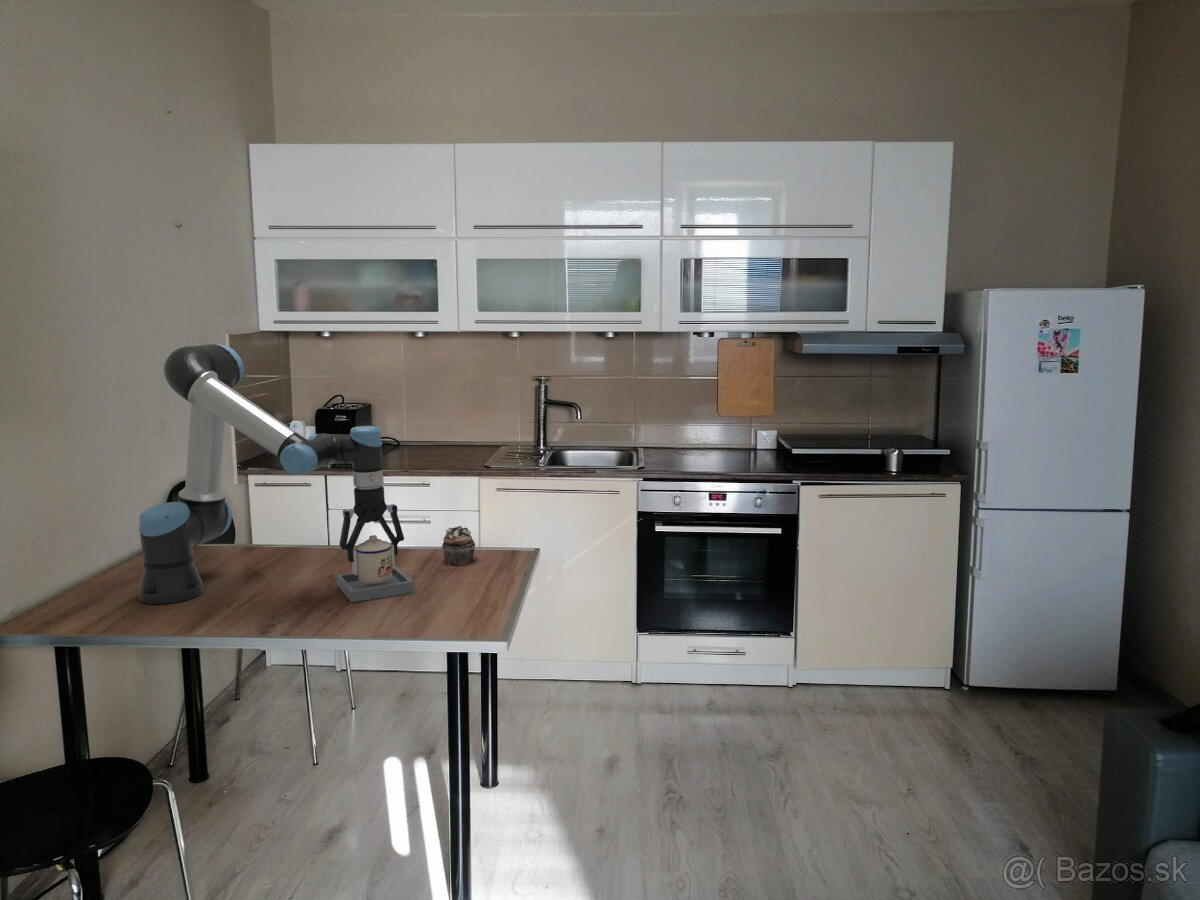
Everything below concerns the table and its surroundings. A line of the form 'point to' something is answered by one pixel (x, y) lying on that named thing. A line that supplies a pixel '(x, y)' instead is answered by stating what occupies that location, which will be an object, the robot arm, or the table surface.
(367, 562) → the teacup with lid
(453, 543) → the cupcake
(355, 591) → the square tray
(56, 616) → the table surface
